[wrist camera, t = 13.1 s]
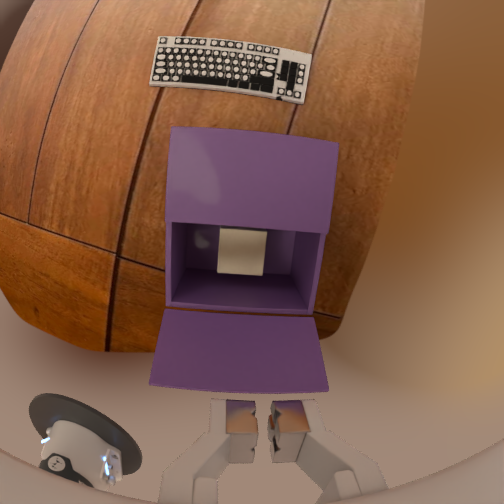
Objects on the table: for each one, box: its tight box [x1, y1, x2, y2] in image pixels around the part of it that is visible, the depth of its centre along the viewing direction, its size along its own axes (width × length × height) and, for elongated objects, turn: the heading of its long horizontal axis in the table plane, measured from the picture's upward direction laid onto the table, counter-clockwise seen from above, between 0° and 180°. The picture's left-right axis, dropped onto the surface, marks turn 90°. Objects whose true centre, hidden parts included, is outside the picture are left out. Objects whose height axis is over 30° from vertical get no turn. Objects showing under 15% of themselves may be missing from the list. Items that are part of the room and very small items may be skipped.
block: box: [217, 225, 267, 276], centre depth 31 cm, size 4×4×4 cm
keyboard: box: [149, 36, 312, 105], centre depth 27 cm, size 17×6×2 cm, turn 81°
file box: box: [165, 126, 339, 314], centre depth 28 cm, size 15×13×10 cm
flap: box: [149, 309, 329, 394], centre depth 22 cm, size 7×13×1 cm
